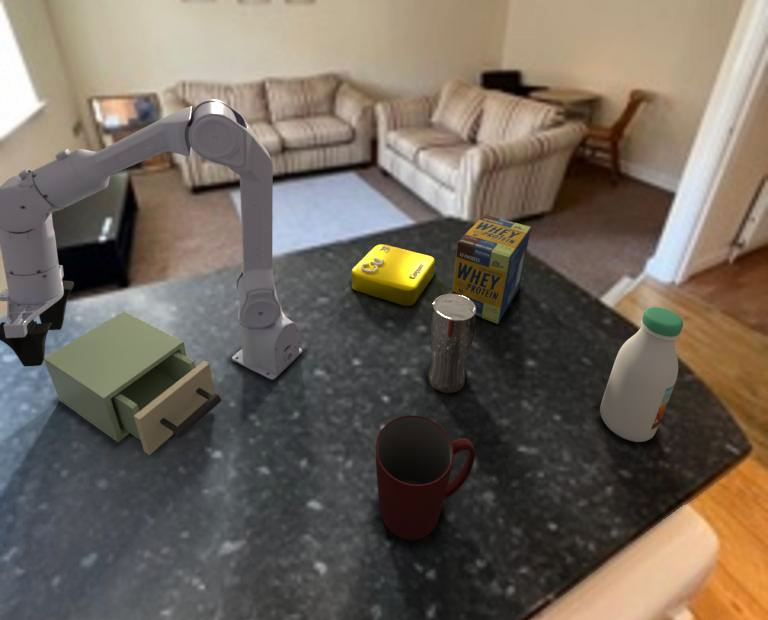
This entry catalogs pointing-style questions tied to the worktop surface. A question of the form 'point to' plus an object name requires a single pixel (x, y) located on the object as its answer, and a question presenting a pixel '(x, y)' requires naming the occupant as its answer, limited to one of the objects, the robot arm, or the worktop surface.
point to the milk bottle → (643, 377)
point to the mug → (416, 474)
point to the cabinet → (107, 367)
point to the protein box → (491, 265)
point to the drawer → (166, 401)
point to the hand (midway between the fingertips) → (44, 345)
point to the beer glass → (450, 340)
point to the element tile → (393, 274)
